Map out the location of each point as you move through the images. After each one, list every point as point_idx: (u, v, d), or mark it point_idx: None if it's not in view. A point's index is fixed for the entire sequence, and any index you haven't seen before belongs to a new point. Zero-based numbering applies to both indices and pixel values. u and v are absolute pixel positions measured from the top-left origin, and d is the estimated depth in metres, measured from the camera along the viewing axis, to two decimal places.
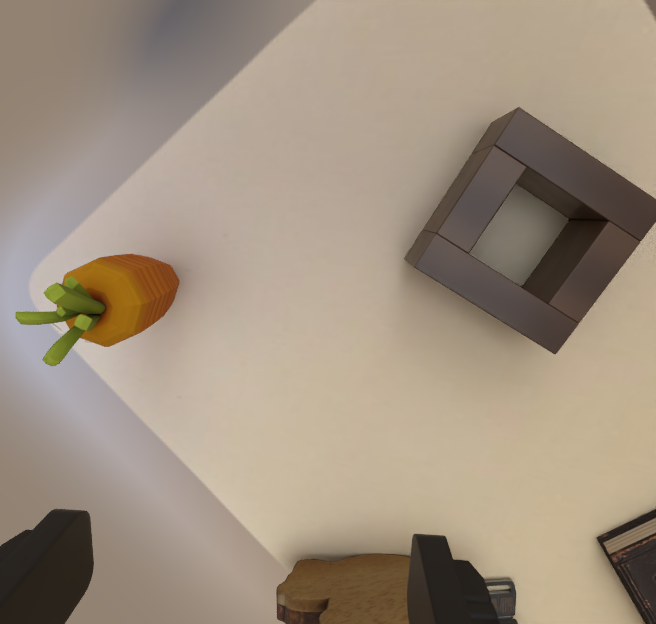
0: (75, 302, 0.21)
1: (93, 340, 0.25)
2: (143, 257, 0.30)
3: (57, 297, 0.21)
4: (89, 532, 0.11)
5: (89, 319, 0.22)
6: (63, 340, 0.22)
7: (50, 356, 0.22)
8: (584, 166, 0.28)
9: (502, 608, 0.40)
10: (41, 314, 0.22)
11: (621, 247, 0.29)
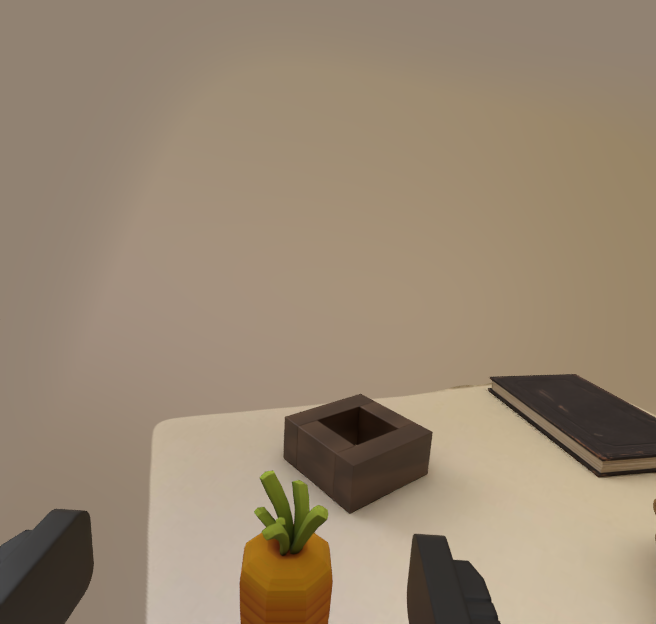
0: None
1: (319, 568, 0.23)
2: None
3: (271, 473, 0.23)
4: (89, 532, 0.11)
5: None
6: (307, 514, 0.22)
7: None
8: (327, 407, 0.53)
9: None
10: None
11: (375, 405, 0.54)
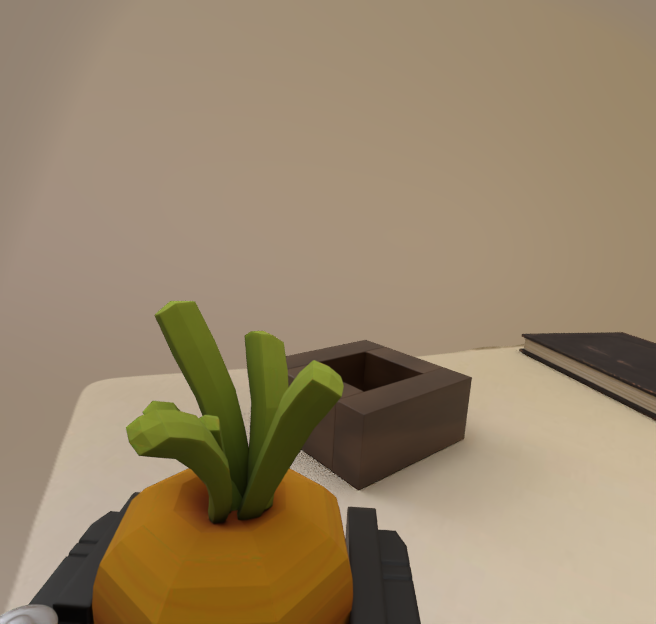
0: None
1: (317, 556, 0.08)
2: None
3: None
4: None
5: None
6: (282, 398, 0.08)
7: None
8: (322, 351, 0.38)
9: None
10: None
11: (387, 351, 0.39)
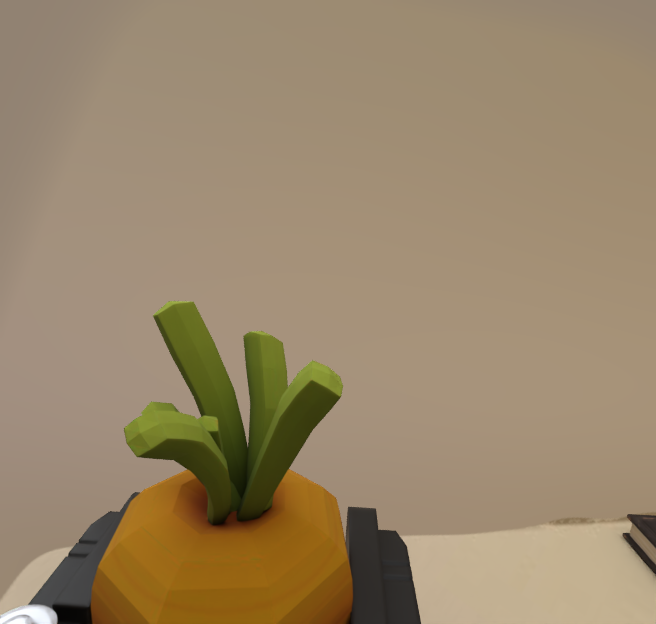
0: None
1: (317, 557, 0.08)
2: None
3: None
4: None
5: None
6: (280, 398, 0.08)
7: (310, 362, 0.07)
8: None
9: None
10: None
11: None
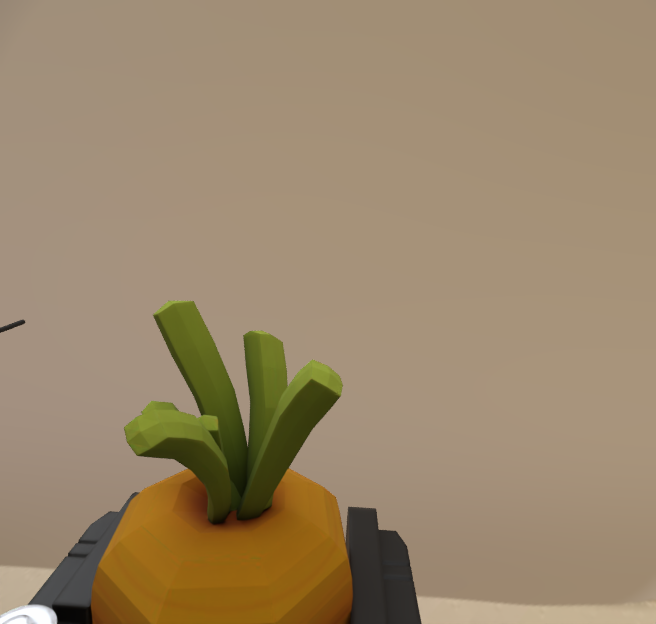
0: None
1: (317, 556, 0.08)
2: None
3: None
4: None
5: None
6: (280, 397, 0.08)
7: (310, 362, 0.07)
8: None
9: None
10: None
11: None
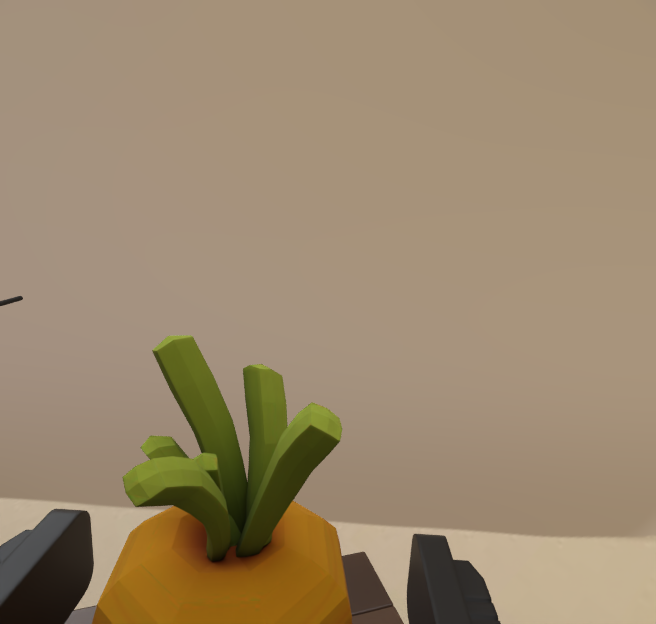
0: None
1: (316, 595, 0.08)
2: None
3: None
4: (89, 532, 0.11)
5: None
6: (279, 438, 0.08)
7: (309, 404, 0.07)
8: None
9: None
10: None
11: None
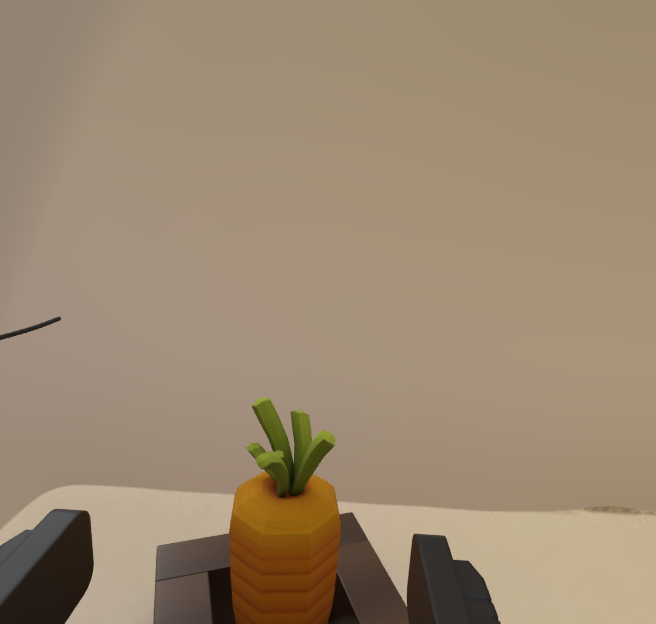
0: None
1: (325, 510, 0.19)
2: None
3: None
4: (89, 532, 0.11)
5: None
6: (309, 444, 0.19)
7: None
8: None
9: None
10: None
11: (361, 554, 0.25)
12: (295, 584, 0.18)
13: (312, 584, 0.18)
